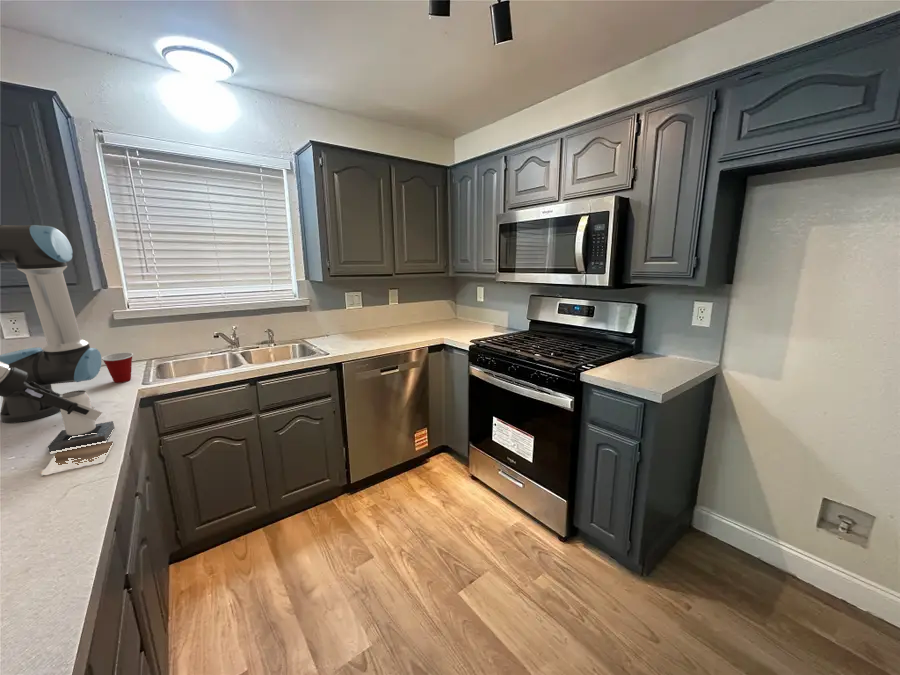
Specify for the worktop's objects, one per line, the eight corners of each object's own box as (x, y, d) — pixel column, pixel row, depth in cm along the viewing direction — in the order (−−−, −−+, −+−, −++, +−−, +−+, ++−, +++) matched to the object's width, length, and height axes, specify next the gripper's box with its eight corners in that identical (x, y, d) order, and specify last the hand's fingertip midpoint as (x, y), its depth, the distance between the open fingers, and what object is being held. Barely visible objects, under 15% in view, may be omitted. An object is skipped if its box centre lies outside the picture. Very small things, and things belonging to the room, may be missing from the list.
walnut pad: (57, 455, 106) (56, 452, 105) (113, 444, 112) (112, 441, 112) (41, 476, 96) (40, 472, 96) (103, 462, 102) (103, 459, 102)
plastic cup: (107, 386, 162) (101, 359, 160) (105, 381, 170) (100, 355, 167) (139, 380, 170) (134, 355, 167) (136, 375, 177) (131, 350, 174)
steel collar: (63, 437, 116) (61, 430, 116) (114, 428, 122) (112, 421, 122) (50, 454, 106) (47, 446, 106) (106, 443, 113) (104, 435, 112)
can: (93, 424, 118) (84, 388, 115) (99, 429, 114) (90, 392, 112) (64, 432, 113) (54, 394, 110) (69, 438, 109) (59, 399, 106)
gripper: (-21, 384, 102) (75, 417, 119) (-7, 398, 92) (95, 433, 109) (3, 360, 105) (93, 396, 122) (19, 372, 95) (115, 409, 112)
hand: (94, 413), depth 116 cm, fingers closed on can, 6 cm apart
